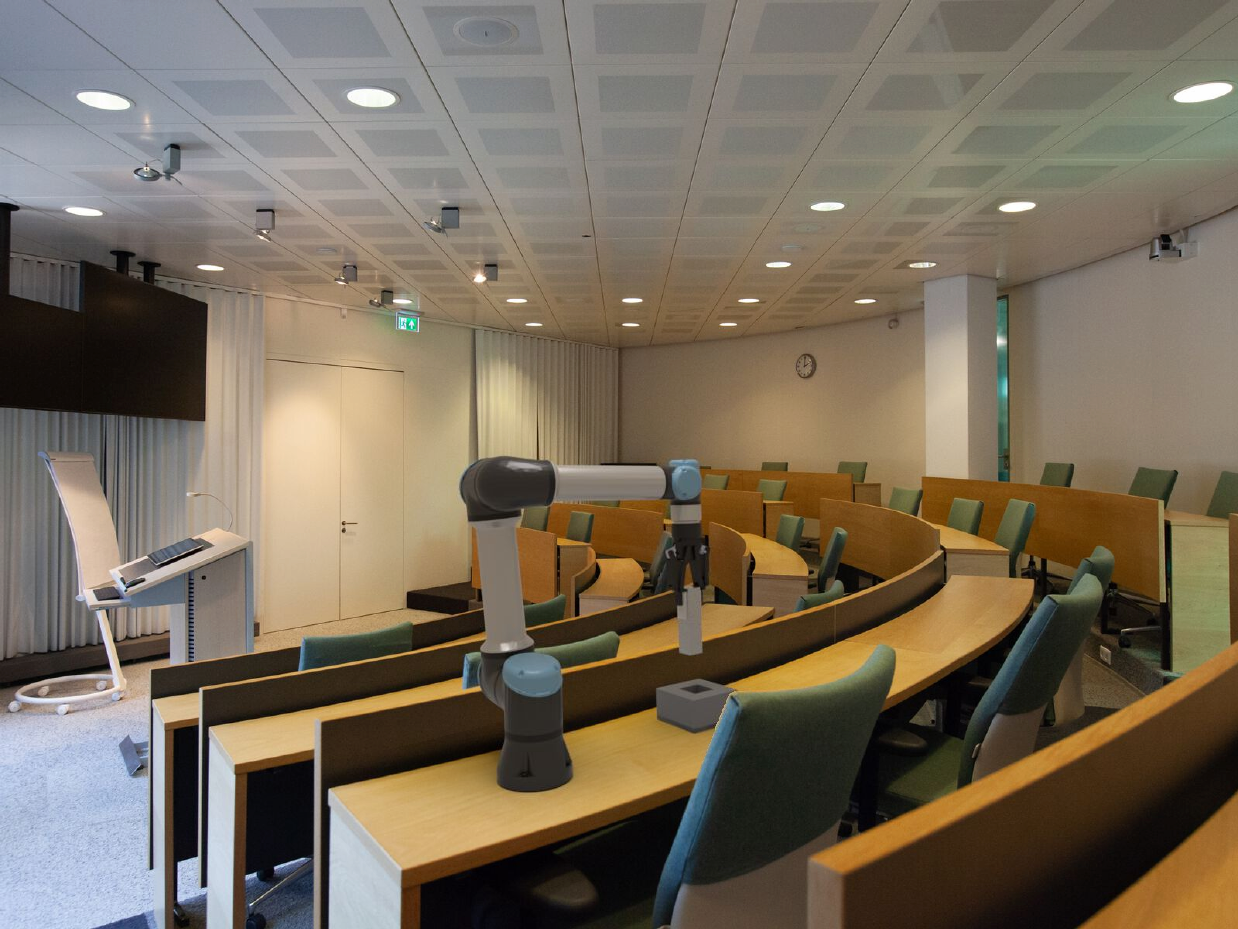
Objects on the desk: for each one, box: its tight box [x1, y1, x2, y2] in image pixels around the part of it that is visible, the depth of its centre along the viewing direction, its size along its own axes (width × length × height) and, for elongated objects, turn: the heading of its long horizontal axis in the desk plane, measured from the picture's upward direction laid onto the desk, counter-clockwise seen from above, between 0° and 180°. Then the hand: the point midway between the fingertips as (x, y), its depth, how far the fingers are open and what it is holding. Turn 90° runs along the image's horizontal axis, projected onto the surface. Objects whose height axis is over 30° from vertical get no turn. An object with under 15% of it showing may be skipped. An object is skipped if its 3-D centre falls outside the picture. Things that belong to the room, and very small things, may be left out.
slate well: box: [655, 678, 738, 734], centre depth 181 cm, size 14×14×8 cm
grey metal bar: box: [677, 585, 703, 656], centre depth 182 cm, size 4×4×16 cm
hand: (689, 617), depth 182 cm, fingers closed on grey metal bar, 4 cm apart
